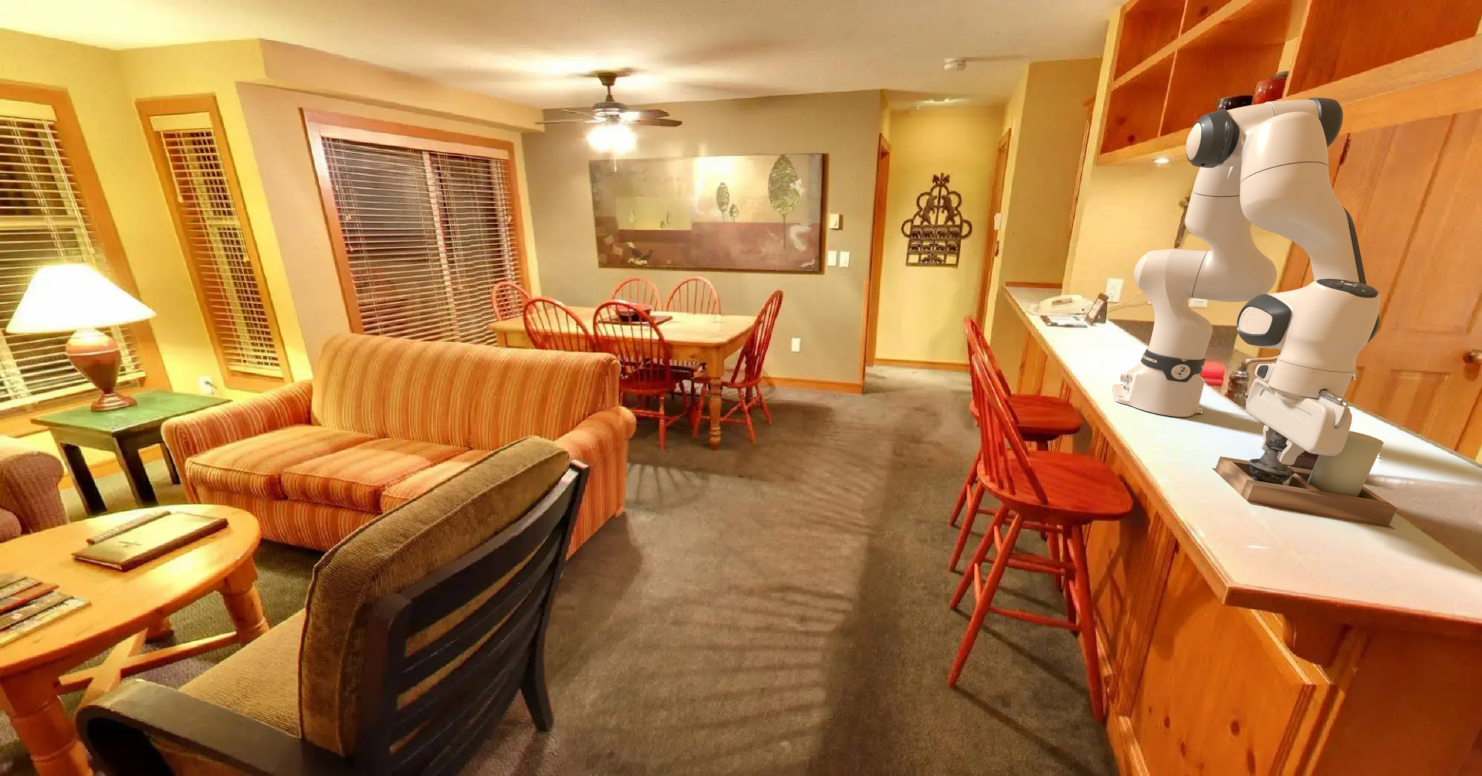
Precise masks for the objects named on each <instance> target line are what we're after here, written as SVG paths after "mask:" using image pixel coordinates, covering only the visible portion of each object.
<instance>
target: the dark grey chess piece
mask: <svg viewBox="0 0 1482 776" xmlns="http://www.w3.org/2000/svg"><path fill="white" fill-rule="evenodd" d="M1287 440H1288V439H1287V438H1286V437H1284V436H1283V435H1281V434H1280V433H1278V432H1277V431H1275V430H1274V432H1273V435H1272V437H1271V440H1270V442H1267V443H1266V445H1267V448H1266V450H1265V451H1264V452H1263V455H1262V456H1260V458H1251V459H1249V460H1248V461H1249V463H1250V466H1249V467H1250V471H1251V473H1252V474H1253V475H1254V476H1250V477H1251V478H1252V479H1253V480H1254V481H1260V482H1266V483H1272V484H1279V483H1282V482H1285V481H1287V480H1288V479H1289V478H1290V477H1291V476H1292V475H1294V474H1295V472H1294V470H1292V469H1291V468H1289V466H1287V465H1286V464H1282V463H1281V462H1279V461H1278V460H1277V459H1276V457H1277V456H1278V452H1279V451H1283V450H1284V449H1285V448H1286V447H1287V446H1288V445H1287V444H1286V442H1287ZM1279 485H1280V484H1279Z"/></svg>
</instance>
